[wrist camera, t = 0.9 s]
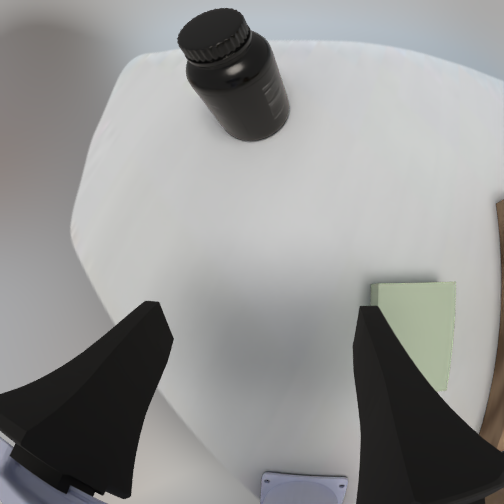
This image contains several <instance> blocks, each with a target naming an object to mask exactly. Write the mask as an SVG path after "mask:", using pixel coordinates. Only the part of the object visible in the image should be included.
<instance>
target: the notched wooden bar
mask: <svg viewBox="0 0 504 504" xmlns="http://www.w3.org/2000/svg"><path fill="white" fill-rule="evenodd" d="M496 207H497V215H498V223H499V234H500V247H501V270H502V294H501V317H500V330H499V340H498V349H497V356H496V363H495V369H494V375H493V380H492V386H491V391H490V395H489V400H488V404H487V408H486V412H485V416H484V420H483V423H482V427H481V430H480V434H479V435H480V436H481V437H482V438H483V439H485V440H486V441H487V442H489V443H490V444H491V445H493V446H494V447H495V448H497V449H498V450H499V451H503V450H504V200H502V201H500V202H498V203H497V204H496Z"/></svg>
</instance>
